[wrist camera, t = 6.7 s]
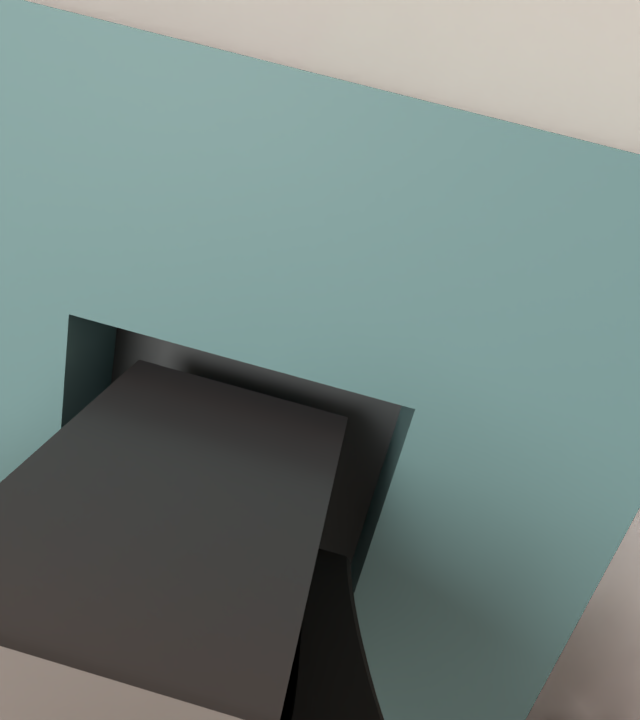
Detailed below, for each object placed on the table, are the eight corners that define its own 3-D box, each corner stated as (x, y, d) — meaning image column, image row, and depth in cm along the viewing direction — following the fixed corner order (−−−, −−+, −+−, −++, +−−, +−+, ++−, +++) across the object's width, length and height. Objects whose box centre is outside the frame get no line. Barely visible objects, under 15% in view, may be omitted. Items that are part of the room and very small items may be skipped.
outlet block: (721, 177, 10) (807, 196, 8) (437, 771, 17) (441, 876, 14) (-54, -17, 11) (-177, -50, 9) (-45, 626, 17) (-116, 704, 15)
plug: (351, 415, 11) (262, 827, 5) (293, 619, 13) (175, 1104, 7) (136, 356, 11) (-231, 676, 5) (111, 566, 13) (-173, 988, 7)
